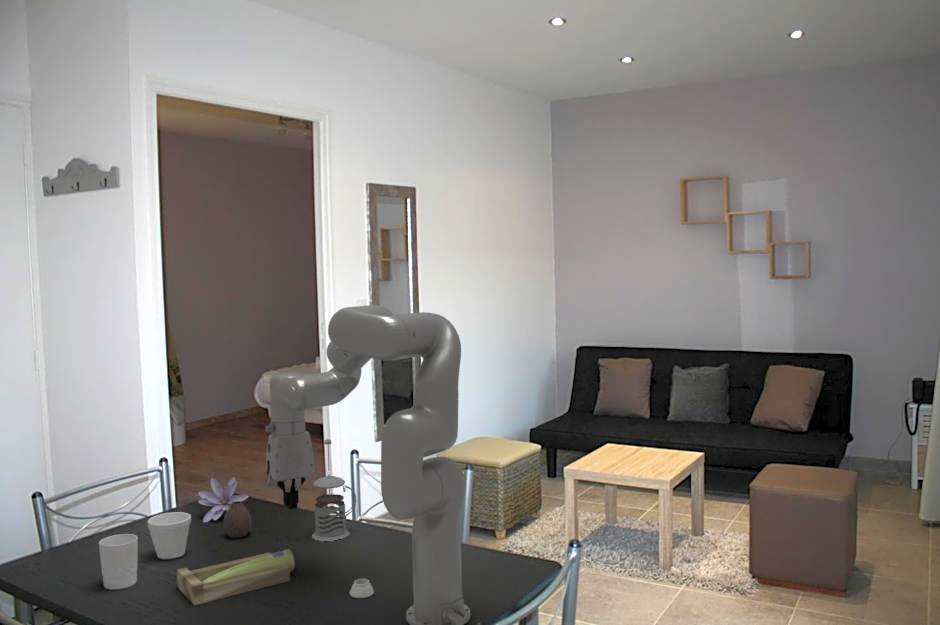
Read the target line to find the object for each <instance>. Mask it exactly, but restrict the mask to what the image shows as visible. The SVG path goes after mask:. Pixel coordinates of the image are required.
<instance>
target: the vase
mask: <svg viewBox="0 0 940 625" xmlns="http://www.w3.org/2000/svg"><path fill="white" fill-rule="evenodd" d="M223 518H224V519H223V529H224V531H225V533H226V534H227V535H226V536H228V537H229V538H231V539H240V538H244V537H246V536H247V535H248V534H249V532H250V531H251V528H252V516H251V514H250V512H249V510H248V509H247V507H246V506H244V504H243V501H241V502H240V501H236V502H233V503H232V504H231V507H230V508H229V510H228V511H227V512H226V511H225V515H224V517H223Z"/></svg>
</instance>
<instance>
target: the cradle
mask: <svg viewBox="0 0 940 625" xmlns="http://www.w3.org/2000/svg"><path fill="white" fill-rule="evenodd" d="M269 554H271V552H265V553H261V554H257V555H252V556H248V557H244V558H243V557H242V558H239V559H235V560H232V561H226V562H222V563H218V564H214V565H209V566H205V567H201V568H196V569H193V570H189V568H187V567H182V568H178V569H176V586H177V587H176V588H178V589H179V591H180V592H181V593H182V594H183V595H184V596H185V597H186V599H187V600H189V601H190V602H191V604H193V606H198V605H201V604H205V603H206V604H207V603H210V602H213V601H214V602H215V601H217V600H222V599H225V598H229V597H233V596H237V595H240V594H245V593H248V592H253V591H256V590H260V589H264V588H268V587H272V586H276V585H279V584H283V583H287V582H291V571H290V567H288V566H287V565H284V566H280V567H276V568H272V569H268V570H264V571H259V572H255V573H251V574H247V575H243V576H239V577H235V578H231V579H227V580H223V581H219V582H215V583H202V582H203V581H204V580H206V579H207V578H209V577H211V576H213V575H215V574H217V573H219V572H222V571H224V570H226V569H229V568H231V567H234V566H236V565H239V564H242V563H244V562H247V561H250V560H253V559H256V558H259V557H262V556H266V555H269Z"/></svg>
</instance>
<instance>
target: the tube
mask: <svg viewBox="0 0 940 625" xmlns="http://www.w3.org/2000/svg"><path fill="white" fill-rule="evenodd" d="M295 564H296V563H295V558H294V554H293V552H292V551H291V549H289V548H287V549H283V550H280V551H277V552H276V551H275V552H273V553H270V554H269V555H266V556H262V557H259V558H256V559H253V560H250V561H247V562H244V563H242V564H239V565H236V566H234V567H231V568H229V569H226V570H224V571H222V572H219V573H217V574H215V575H213V576H211V577H209V578H207V579H206V580H204V581H203V582H202V583H215V582H219V581H223V580H227V579H231V578H235V577H239V576H243V575H247V574H251V573H255V572H259V571H264V570H268V569H272V568H276V567H280V566H284V565H287V566H288V567H290V572H292V571H294V570H295V566H296V565H295Z"/></svg>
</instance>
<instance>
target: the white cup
mask: <svg viewBox="0 0 940 625" xmlns="http://www.w3.org/2000/svg"><path fill="white" fill-rule="evenodd" d="M138 540H139V538H138V535H136V534H133V533H122V534H121V533H120V534H114V535H110V536H106V537H104V538H101V539H100V540H99V541H98V548H99V557H100V558H99V559H100V560H99V561H100V566H101V575H102V580H103V587H104V589H107V590H122V589H126V588H129V587H132V586H134V585H135V584H136V583H137V582H138V560H139V559H138V557H139V556H138V553H139V552H138V549H139V548H138V547H139V545H138V542H139V541H138Z"/></svg>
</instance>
